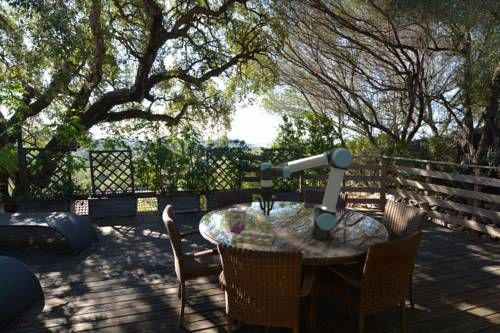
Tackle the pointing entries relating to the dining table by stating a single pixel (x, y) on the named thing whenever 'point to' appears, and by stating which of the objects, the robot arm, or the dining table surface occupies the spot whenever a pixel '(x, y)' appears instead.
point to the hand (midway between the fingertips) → (266, 220)
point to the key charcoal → (266, 236)
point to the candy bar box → (237, 220)
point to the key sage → (246, 233)
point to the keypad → (256, 239)
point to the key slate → (255, 234)
